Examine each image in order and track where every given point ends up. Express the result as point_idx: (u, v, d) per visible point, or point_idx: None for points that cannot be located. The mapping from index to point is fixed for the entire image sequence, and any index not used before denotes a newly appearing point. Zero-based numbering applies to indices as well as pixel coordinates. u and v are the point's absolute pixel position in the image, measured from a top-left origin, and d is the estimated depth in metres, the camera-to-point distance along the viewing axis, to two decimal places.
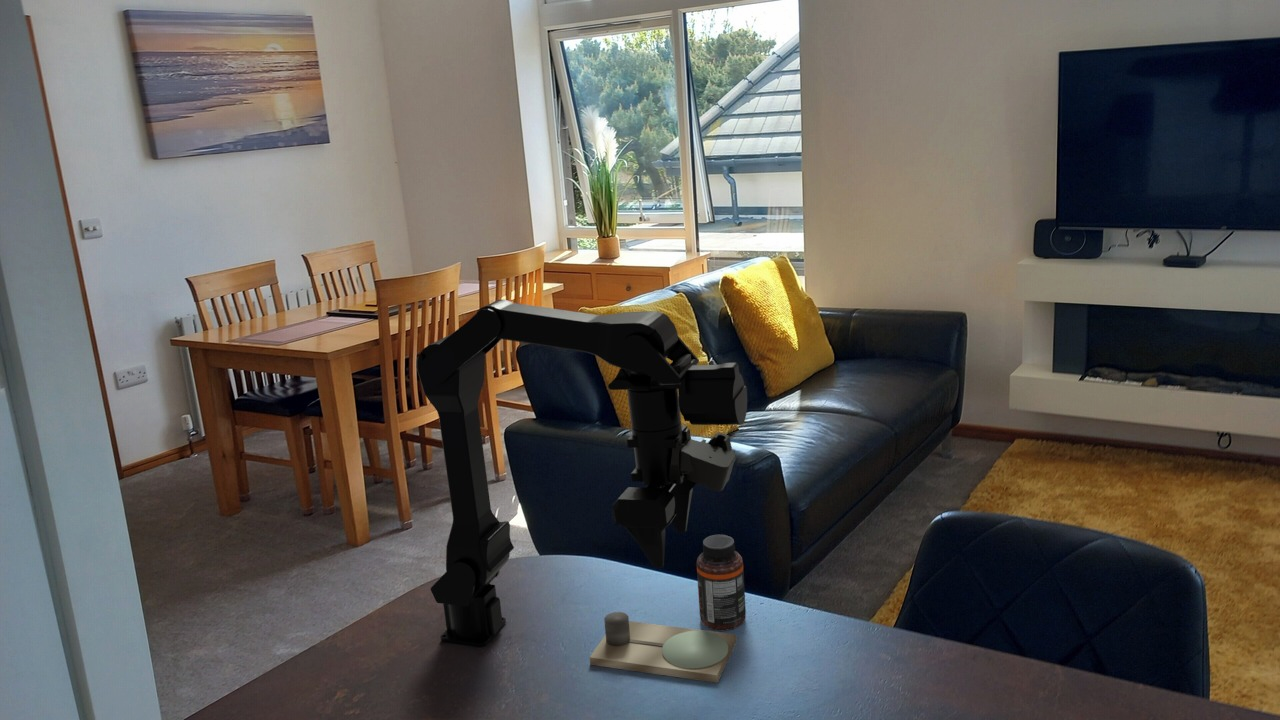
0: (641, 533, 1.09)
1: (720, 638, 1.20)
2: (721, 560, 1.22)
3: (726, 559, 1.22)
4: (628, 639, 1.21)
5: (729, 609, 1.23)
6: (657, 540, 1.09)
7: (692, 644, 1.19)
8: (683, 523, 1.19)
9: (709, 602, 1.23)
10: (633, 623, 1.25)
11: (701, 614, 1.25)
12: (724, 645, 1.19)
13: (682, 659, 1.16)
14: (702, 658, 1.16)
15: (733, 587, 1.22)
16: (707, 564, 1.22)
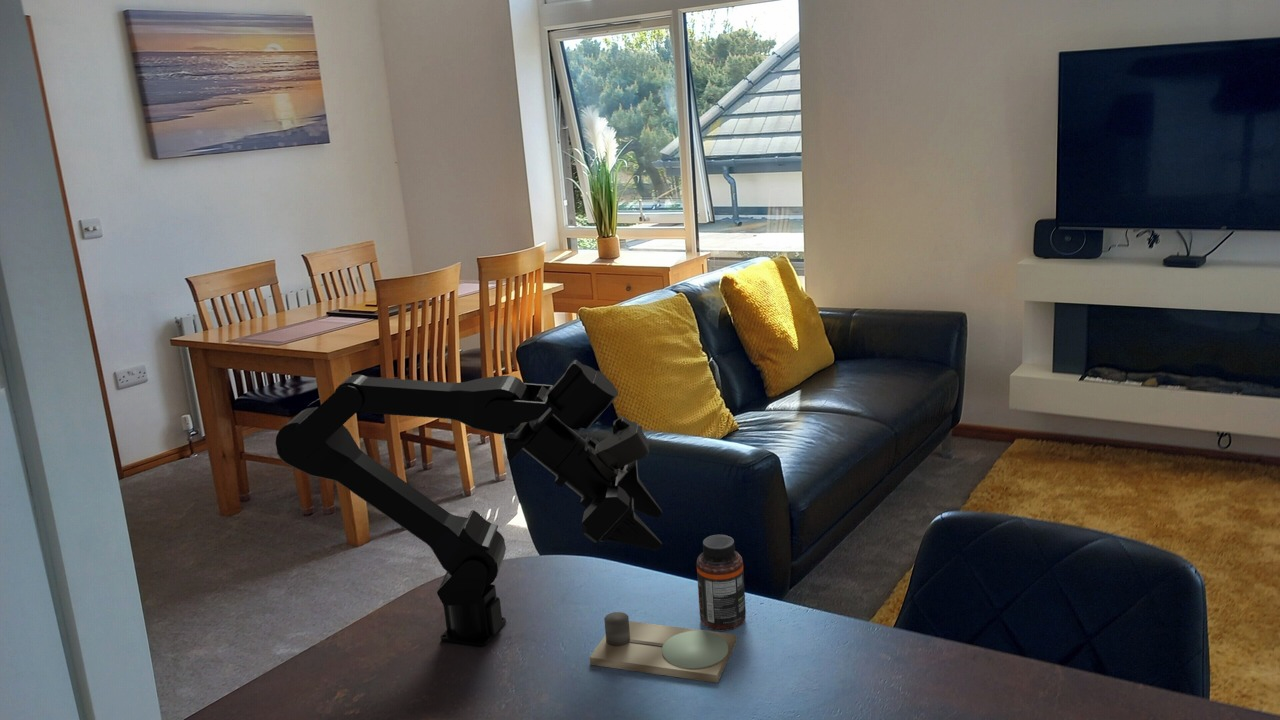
0: (623, 534, 1.17)
1: (720, 638, 1.20)
2: (721, 560, 1.22)
3: (726, 559, 1.22)
4: (628, 639, 1.21)
5: (729, 609, 1.23)
6: (638, 527, 1.17)
7: (692, 644, 1.19)
8: (655, 507, 1.27)
9: (709, 602, 1.23)
10: (633, 623, 1.25)
11: (701, 614, 1.25)
12: (724, 645, 1.19)
13: (682, 659, 1.16)
14: (702, 658, 1.16)
15: (733, 587, 1.22)
16: (706, 564, 1.22)
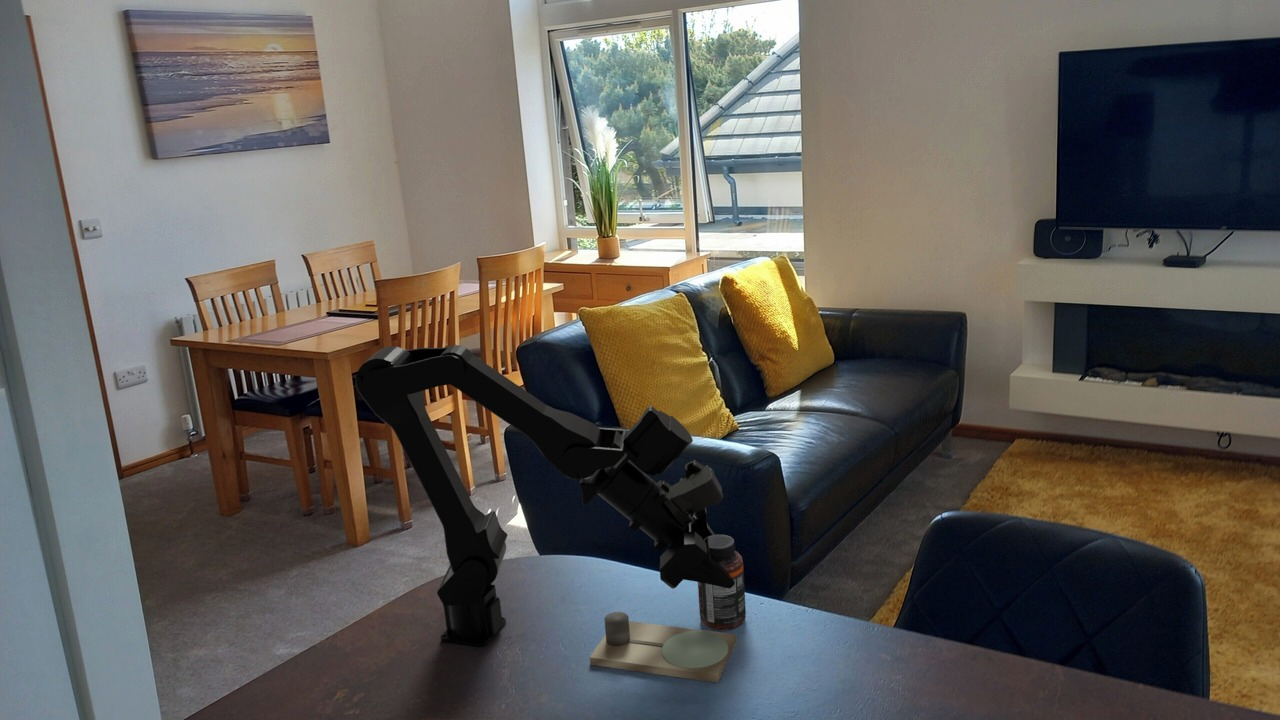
0: (698, 573, 1.20)
1: (720, 638, 1.20)
2: (721, 560, 1.22)
3: (726, 559, 1.22)
4: (628, 639, 1.21)
5: (729, 609, 1.23)
6: (713, 567, 1.20)
7: (692, 644, 1.19)
8: None
9: (709, 602, 1.23)
10: (633, 623, 1.25)
11: (701, 614, 1.25)
12: (724, 645, 1.19)
13: (682, 659, 1.16)
14: (702, 658, 1.16)
15: (733, 587, 1.22)
16: None
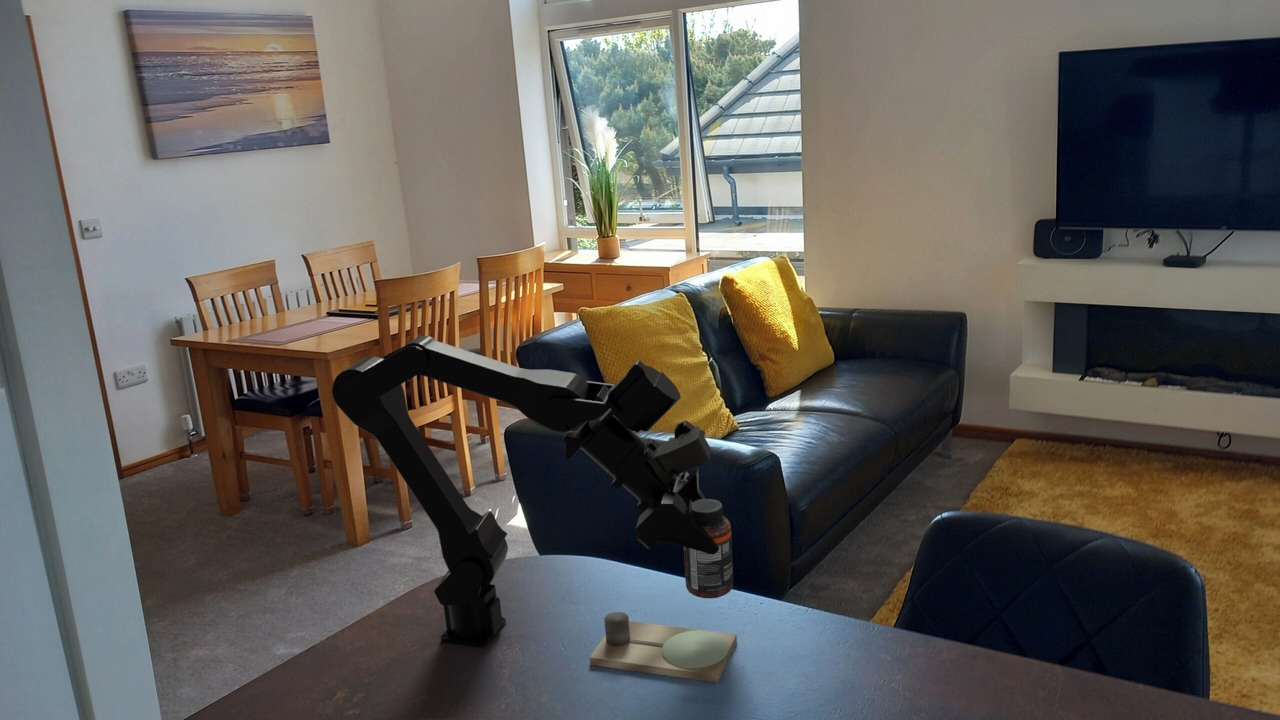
0: (680, 536, 1.15)
1: (720, 638, 1.20)
2: (706, 524, 1.17)
3: (711, 524, 1.17)
4: (628, 639, 1.21)
5: (713, 577, 1.18)
6: (695, 530, 1.15)
7: (692, 644, 1.19)
8: None
9: (693, 568, 1.18)
10: (633, 623, 1.25)
11: (686, 580, 1.21)
12: (724, 645, 1.19)
13: (682, 659, 1.16)
14: (702, 658, 1.16)
15: (718, 553, 1.17)
16: None
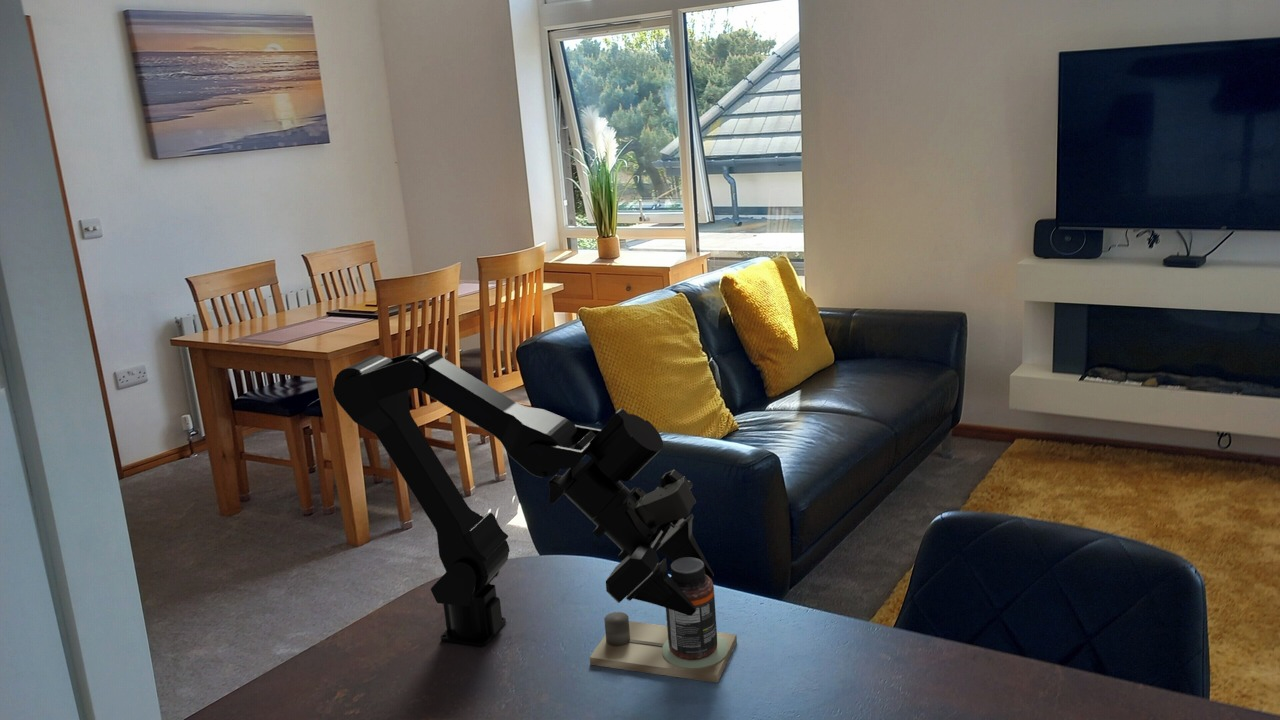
0: (654, 594, 1.12)
1: (720, 638, 1.20)
2: (685, 585, 1.14)
3: (690, 585, 1.14)
4: (628, 639, 1.21)
5: (692, 639, 1.15)
6: (669, 590, 1.11)
7: None
8: (705, 569, 1.20)
9: (672, 628, 1.16)
10: (633, 623, 1.25)
11: (668, 639, 1.18)
12: (724, 645, 1.19)
13: (682, 659, 1.16)
14: (702, 658, 1.16)
15: (696, 615, 1.14)
16: None
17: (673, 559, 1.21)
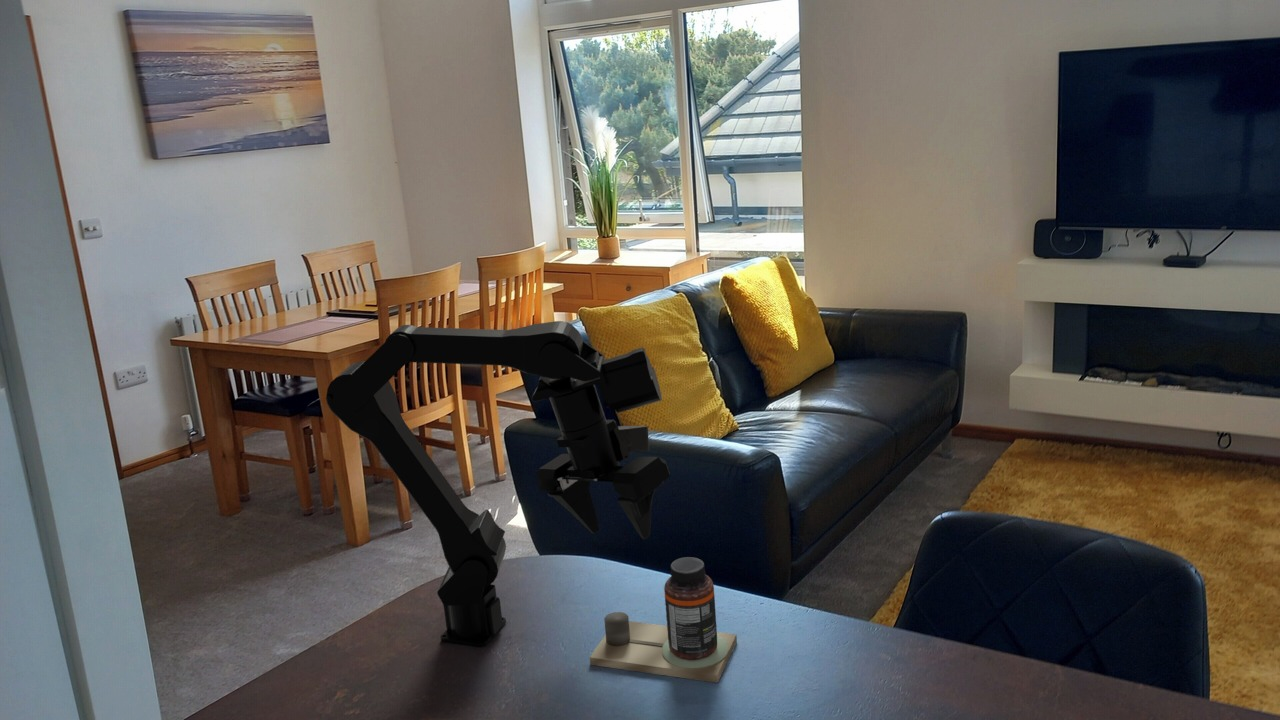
0: (637, 507, 1.18)
1: (720, 638, 1.20)
2: (685, 585, 1.14)
3: (690, 585, 1.14)
4: (628, 639, 1.21)
5: (692, 639, 1.15)
6: (648, 506, 1.19)
7: None
8: (596, 521, 1.27)
9: (673, 628, 1.16)
10: (633, 623, 1.25)
11: (668, 639, 1.18)
12: (724, 645, 1.19)
13: (682, 659, 1.16)
14: (702, 658, 1.16)
15: (696, 615, 1.14)
16: (671, 587, 1.15)
17: (572, 506, 1.25)
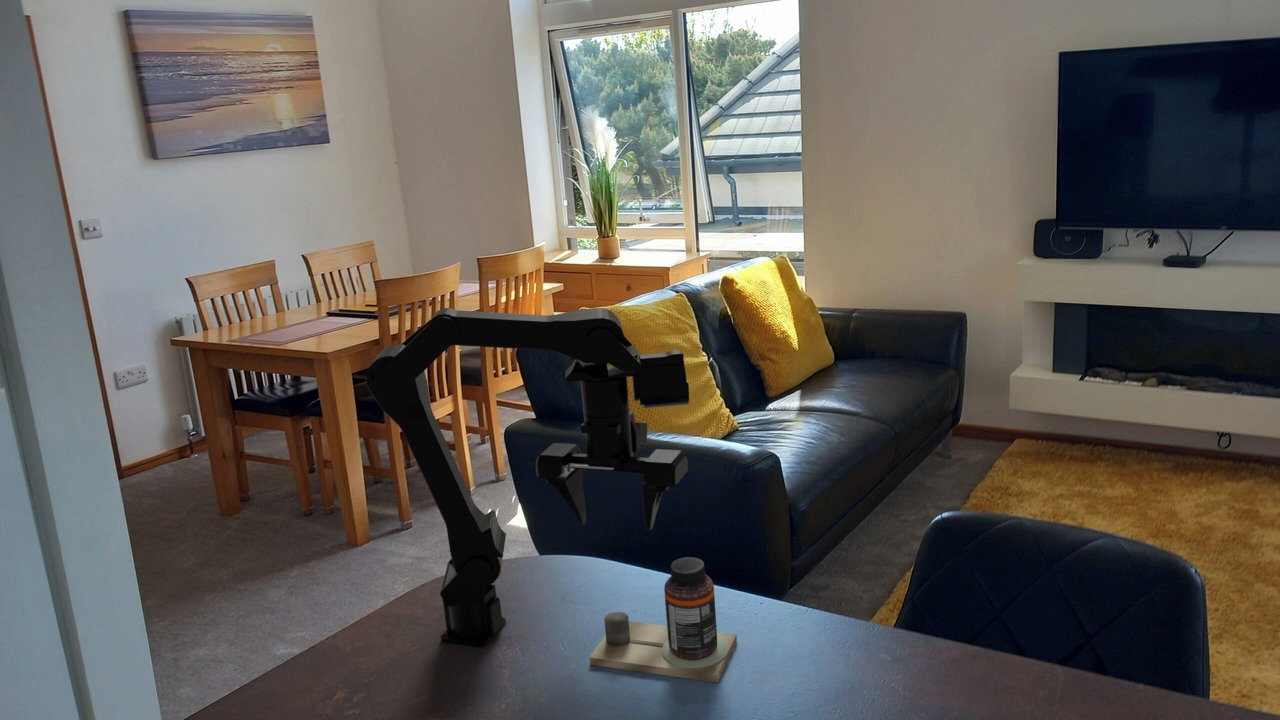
0: None
1: (720, 638, 1.20)
2: (685, 585, 1.14)
3: (690, 585, 1.14)
4: (628, 639, 1.21)
5: (692, 639, 1.15)
6: (659, 498, 1.23)
7: None
8: (585, 512, 1.27)
9: (672, 628, 1.16)
10: (633, 623, 1.25)
11: (668, 639, 1.18)
12: (724, 645, 1.19)
13: (682, 659, 1.16)
14: (702, 658, 1.16)
15: (696, 615, 1.14)
16: (671, 587, 1.15)
17: (572, 495, 1.24)
